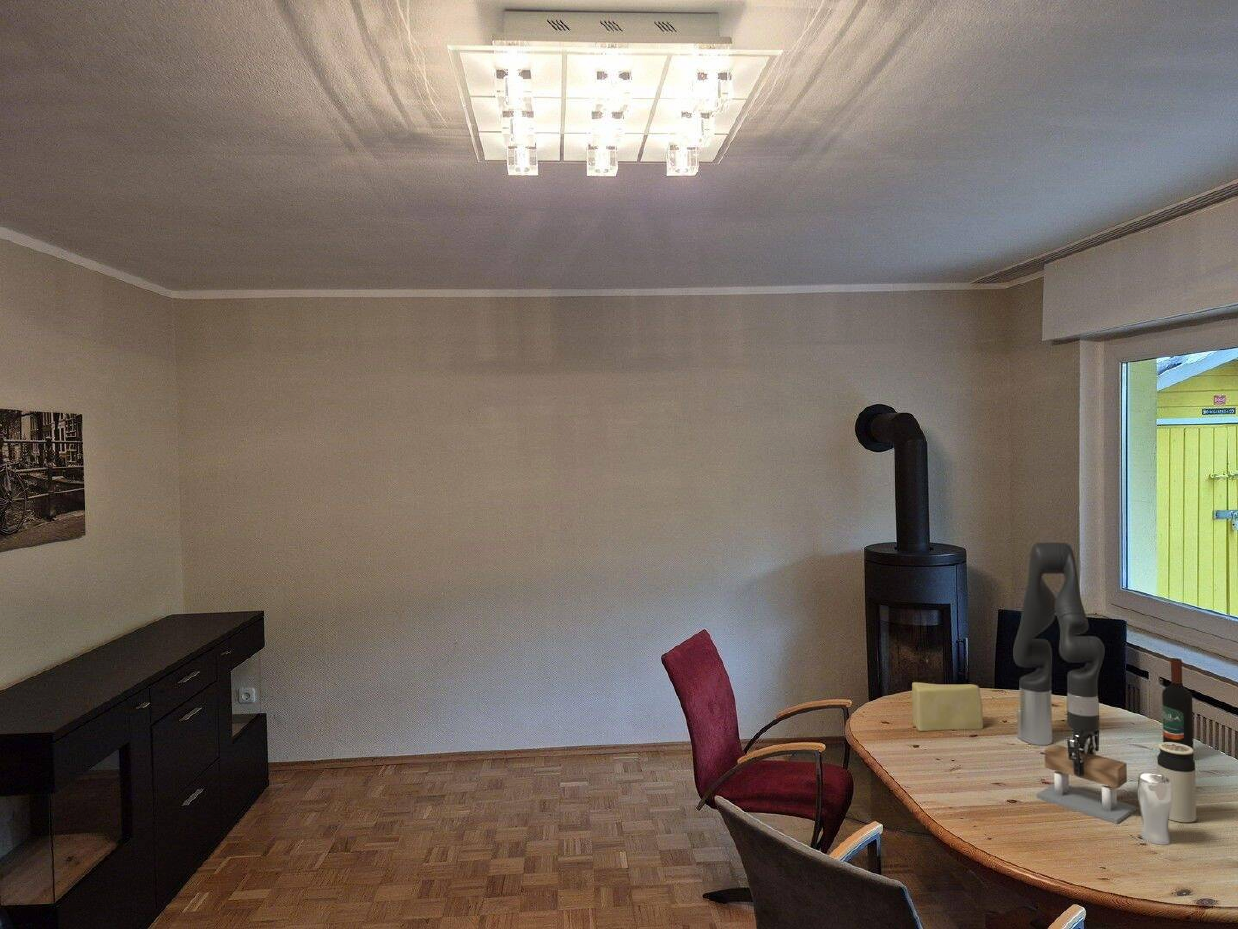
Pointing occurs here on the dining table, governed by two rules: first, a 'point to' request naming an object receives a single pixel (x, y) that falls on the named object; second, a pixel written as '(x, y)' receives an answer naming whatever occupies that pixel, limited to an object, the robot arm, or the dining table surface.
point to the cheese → (946, 707)
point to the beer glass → (1155, 807)
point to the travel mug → (1179, 779)
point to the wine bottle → (1177, 709)
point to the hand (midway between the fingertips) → (1084, 771)
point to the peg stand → (1086, 800)
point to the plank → (1087, 766)
